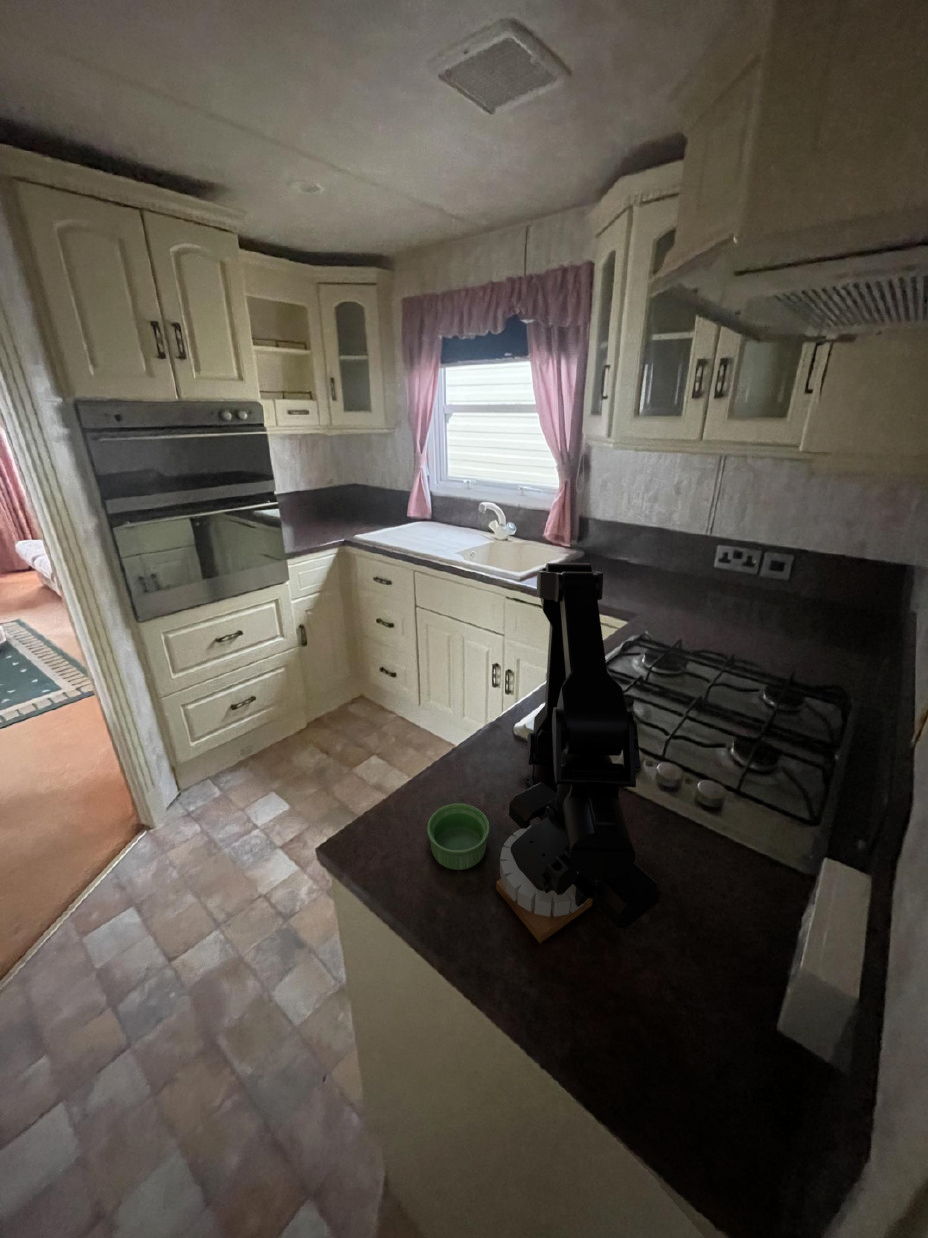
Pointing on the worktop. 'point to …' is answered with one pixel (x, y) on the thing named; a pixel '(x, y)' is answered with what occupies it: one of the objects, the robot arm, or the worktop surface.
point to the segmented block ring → (532, 887)
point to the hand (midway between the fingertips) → (571, 895)
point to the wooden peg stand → (540, 916)
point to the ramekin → (458, 835)
